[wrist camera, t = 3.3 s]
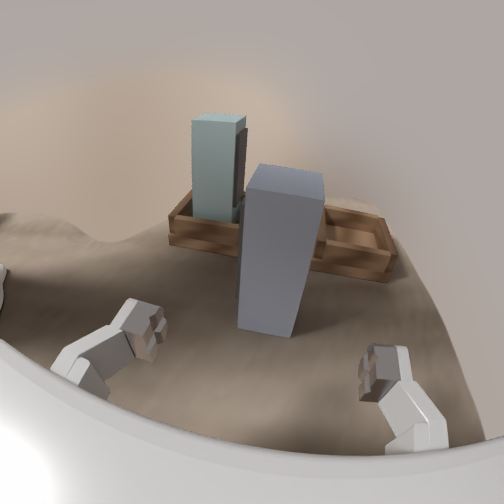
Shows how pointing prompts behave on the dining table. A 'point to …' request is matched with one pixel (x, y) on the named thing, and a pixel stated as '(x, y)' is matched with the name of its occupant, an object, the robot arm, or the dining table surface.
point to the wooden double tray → (326, 246)
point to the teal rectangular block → (218, 166)
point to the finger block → (276, 246)
